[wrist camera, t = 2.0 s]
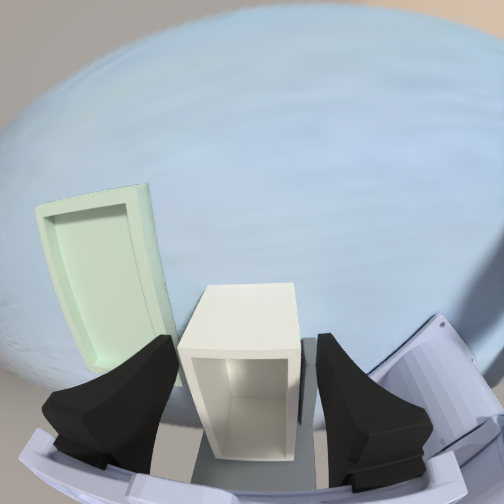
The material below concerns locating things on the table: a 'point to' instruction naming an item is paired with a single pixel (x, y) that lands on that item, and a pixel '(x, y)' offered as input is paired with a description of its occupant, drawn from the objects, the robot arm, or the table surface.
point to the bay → (270, 472)
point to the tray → (108, 273)
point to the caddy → (245, 369)
